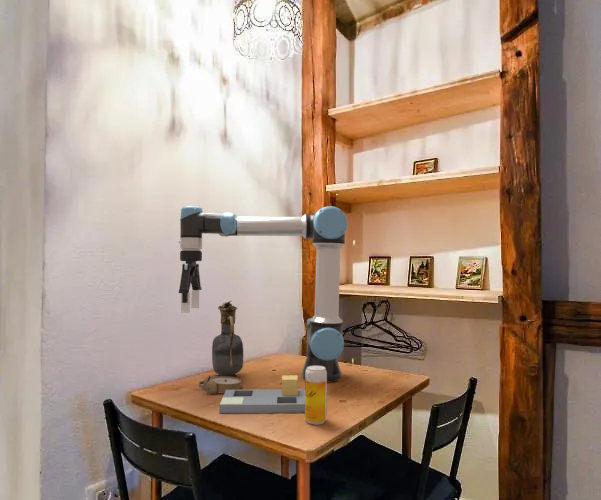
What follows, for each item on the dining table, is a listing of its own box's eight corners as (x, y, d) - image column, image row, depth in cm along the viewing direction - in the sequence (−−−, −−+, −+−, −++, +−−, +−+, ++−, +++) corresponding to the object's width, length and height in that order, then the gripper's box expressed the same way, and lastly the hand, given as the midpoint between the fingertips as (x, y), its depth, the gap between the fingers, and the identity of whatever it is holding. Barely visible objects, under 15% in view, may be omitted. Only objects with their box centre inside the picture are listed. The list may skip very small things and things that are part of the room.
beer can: (304, 417, 122) (304, 365, 123) (324, 417, 123) (325, 365, 123) (306, 425, 116) (306, 370, 117) (327, 425, 117) (328, 370, 117)
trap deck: (304, 396, 141) (304, 389, 142) (307, 412, 126) (307, 404, 127) (225, 396, 140) (226, 389, 140) (219, 413, 125) (219, 405, 125)
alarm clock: (246, 383, 146) (203, 380, 140) (243, 398, 146) (200, 395, 140) (237, 375, 156) (197, 372, 151) (235, 389, 156) (194, 386, 150)
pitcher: (237, 372, 172) (238, 298, 173) (246, 385, 154) (247, 302, 155) (210, 374, 168) (211, 298, 169) (216, 387, 150) (217, 303, 151)
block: (297, 390, 140) (297, 375, 140) (297, 395, 135) (297, 379, 135) (281, 390, 140) (282, 375, 140) (281, 395, 135) (282, 379, 135)
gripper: (189, 250, 163) (188, 306, 162) (169, 249, 138) (169, 314, 137) (209, 251, 163) (208, 306, 162) (192, 249, 138) (192, 314, 137)
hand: (190, 310), depth 150 cm, fingers open, 13 cm apart
